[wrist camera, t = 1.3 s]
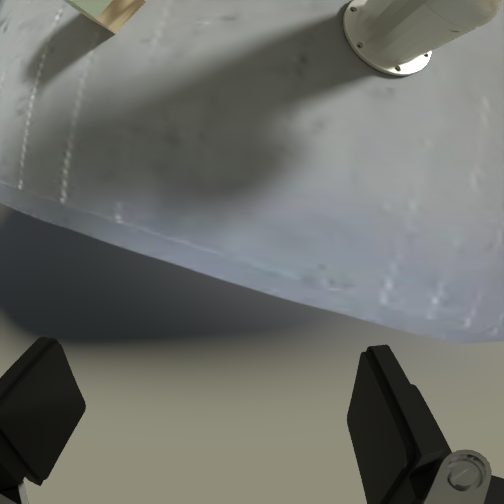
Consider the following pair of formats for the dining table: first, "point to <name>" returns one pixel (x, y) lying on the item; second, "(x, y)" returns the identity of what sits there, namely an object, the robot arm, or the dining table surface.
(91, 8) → the block top
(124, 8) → the block bottom
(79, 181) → the dining table surface
